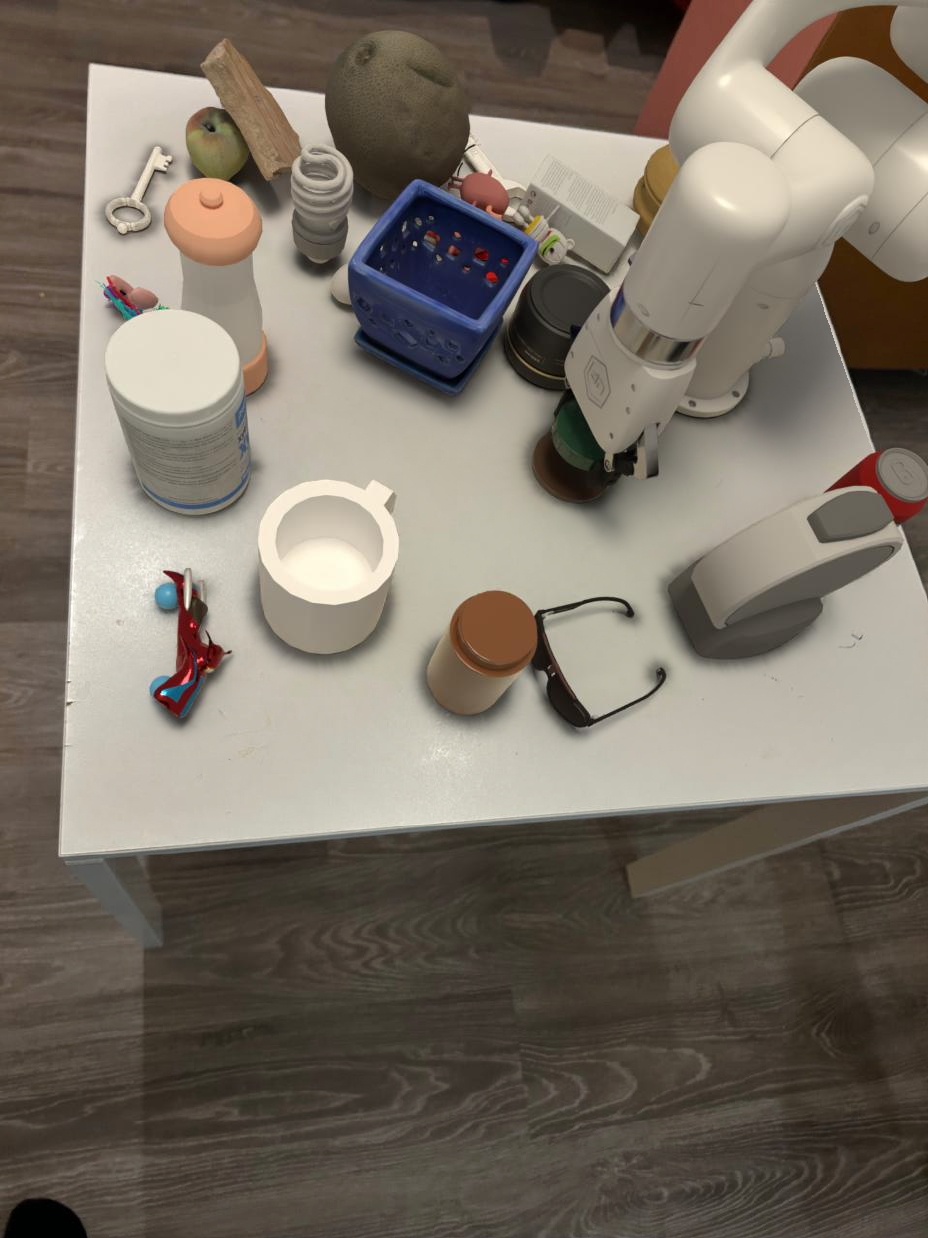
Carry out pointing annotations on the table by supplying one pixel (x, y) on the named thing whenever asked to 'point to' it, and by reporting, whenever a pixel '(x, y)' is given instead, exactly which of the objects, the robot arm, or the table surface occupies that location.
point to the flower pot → (435, 285)
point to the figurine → (480, 197)
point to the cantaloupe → (397, 112)
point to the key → (138, 194)
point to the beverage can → (892, 480)
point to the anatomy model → (129, 297)
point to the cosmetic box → (581, 213)
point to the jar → (550, 321)
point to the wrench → (493, 174)
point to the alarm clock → (782, 571)
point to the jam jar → (482, 652)
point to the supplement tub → (181, 408)
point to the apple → (216, 143)
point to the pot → (654, 186)
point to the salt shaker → (221, 264)
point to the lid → (575, 437)
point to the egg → (341, 285)
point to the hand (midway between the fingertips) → (584, 447)
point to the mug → (327, 563)
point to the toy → (541, 233)
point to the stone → (252, 110)
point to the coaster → (561, 474)
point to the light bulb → (321, 202)
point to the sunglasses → (557, 684)
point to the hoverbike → (186, 644)
